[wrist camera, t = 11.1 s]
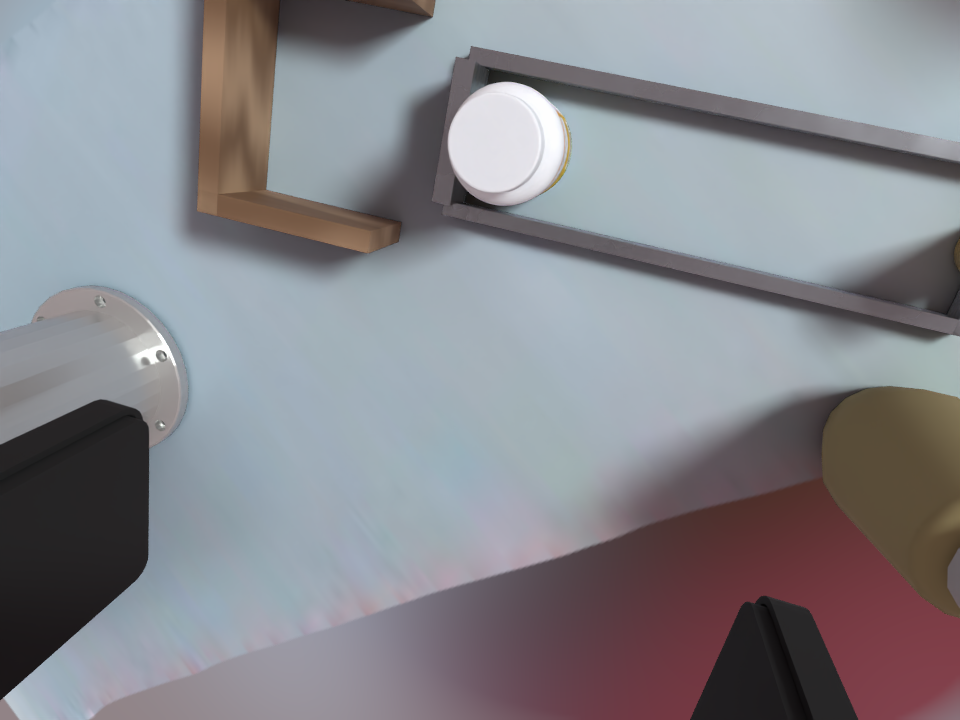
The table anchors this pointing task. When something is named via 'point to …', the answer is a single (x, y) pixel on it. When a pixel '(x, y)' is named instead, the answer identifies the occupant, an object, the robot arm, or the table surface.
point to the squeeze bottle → (901, 482)
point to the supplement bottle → (508, 144)
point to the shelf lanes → (264, 130)
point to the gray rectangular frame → (475, 77)
